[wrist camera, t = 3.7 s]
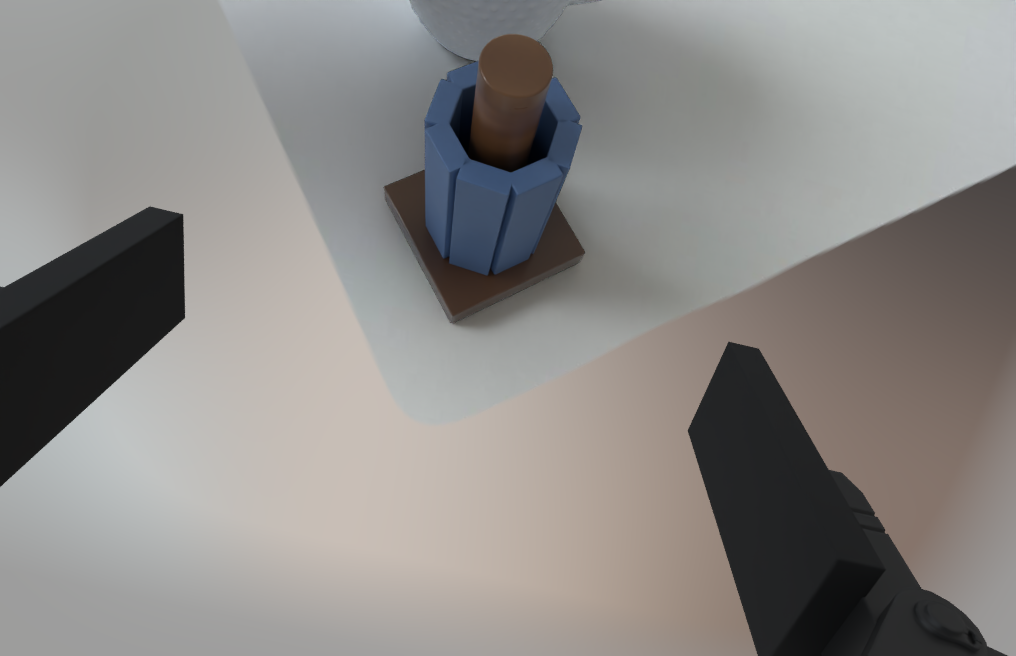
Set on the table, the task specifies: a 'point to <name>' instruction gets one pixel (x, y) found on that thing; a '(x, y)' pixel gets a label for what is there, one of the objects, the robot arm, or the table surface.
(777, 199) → the table surface
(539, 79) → the dowel stand
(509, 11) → the mug
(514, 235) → the sleeve
